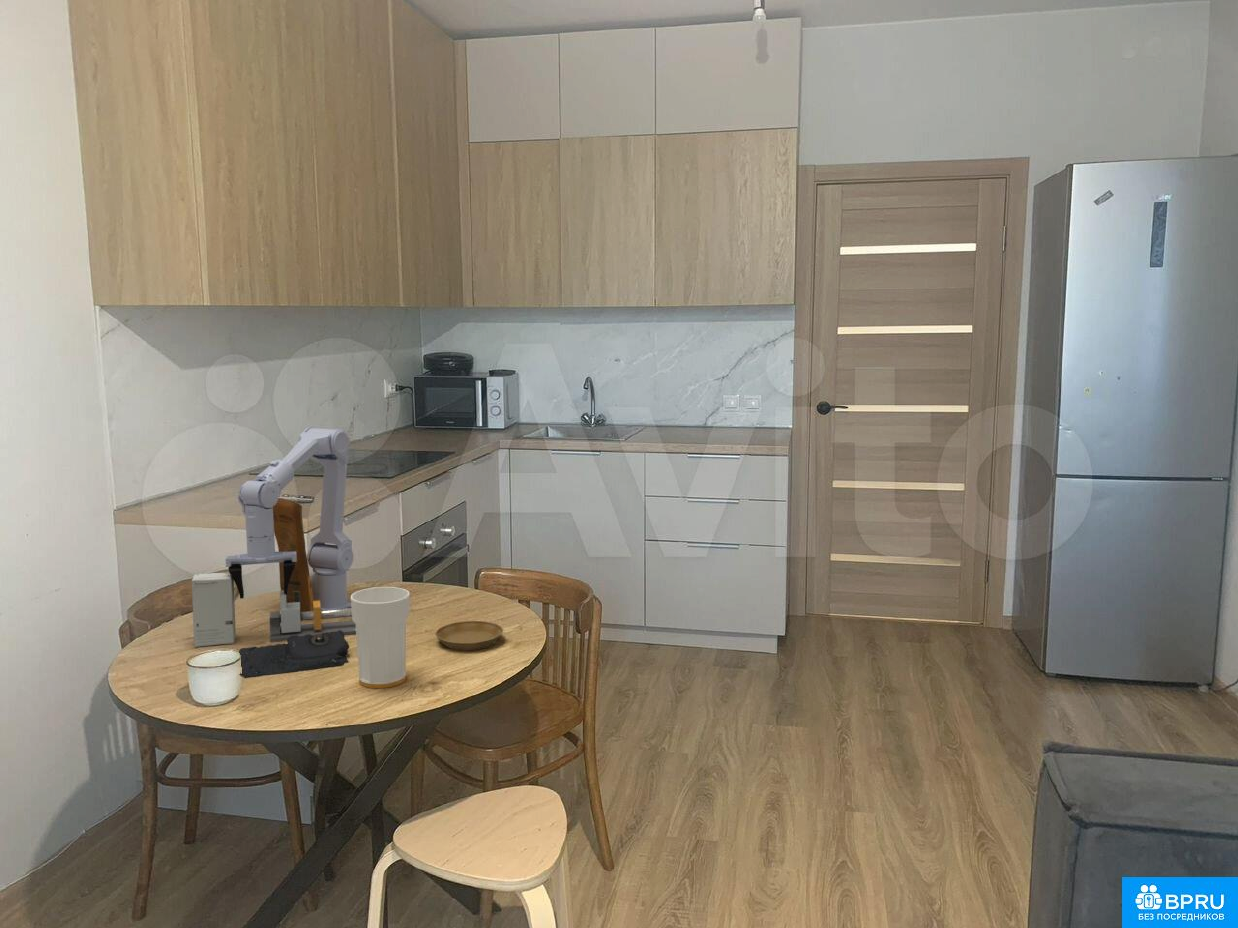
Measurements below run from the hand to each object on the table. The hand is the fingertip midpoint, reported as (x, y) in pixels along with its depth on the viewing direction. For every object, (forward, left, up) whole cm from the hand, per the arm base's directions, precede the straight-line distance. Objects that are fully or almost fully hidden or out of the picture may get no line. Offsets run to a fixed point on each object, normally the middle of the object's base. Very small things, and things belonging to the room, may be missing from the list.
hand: (263, 595), depth 211 cm
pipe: (+7, +12, -10) cm, 17 cm away
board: (+7, +12, -10) cm, 17 cm away
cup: (+40, +3, -10) cm, 41 cm away
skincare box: (-5, -9, -10) cm, 14 cm away
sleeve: (+2, +5, -8) cm, 10 cm away
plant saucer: (+35, +29, -10) cm, 47 cm away
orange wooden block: (+5, +10, -8) cm, 14 cm away
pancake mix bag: (-13, +15, -10) cm, 22 cm away
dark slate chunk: (+17, -3, -10) cm, 20 cm away
